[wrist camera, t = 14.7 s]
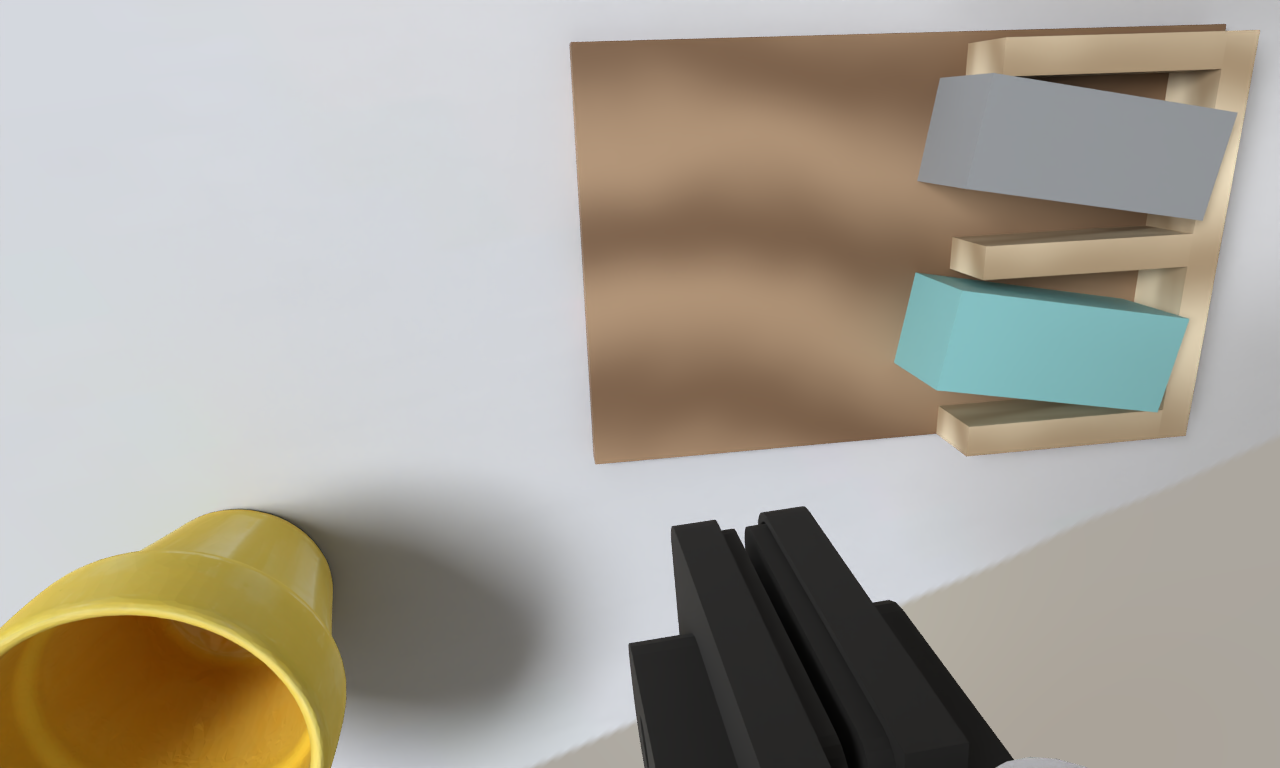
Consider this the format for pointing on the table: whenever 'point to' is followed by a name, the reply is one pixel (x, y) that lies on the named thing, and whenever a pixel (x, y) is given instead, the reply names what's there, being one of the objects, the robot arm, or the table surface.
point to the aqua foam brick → (1038, 343)
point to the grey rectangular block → (1074, 145)
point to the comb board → (853, 233)
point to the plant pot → (179, 656)
